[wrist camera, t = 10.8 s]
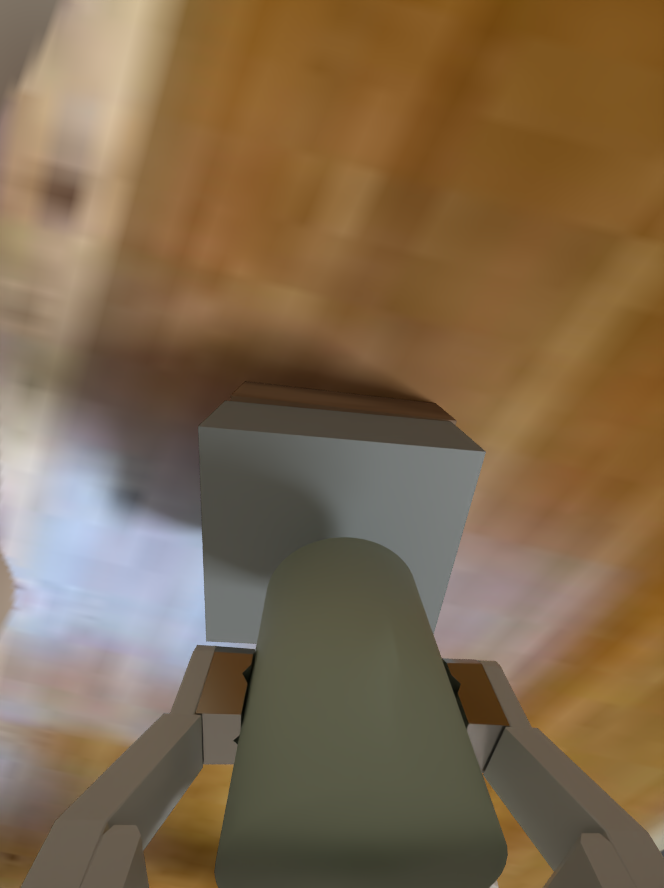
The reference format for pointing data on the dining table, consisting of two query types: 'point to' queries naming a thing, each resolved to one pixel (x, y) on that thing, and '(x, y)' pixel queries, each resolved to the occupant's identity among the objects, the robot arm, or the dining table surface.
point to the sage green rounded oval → (353, 739)
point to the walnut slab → (337, 401)
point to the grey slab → (325, 499)
